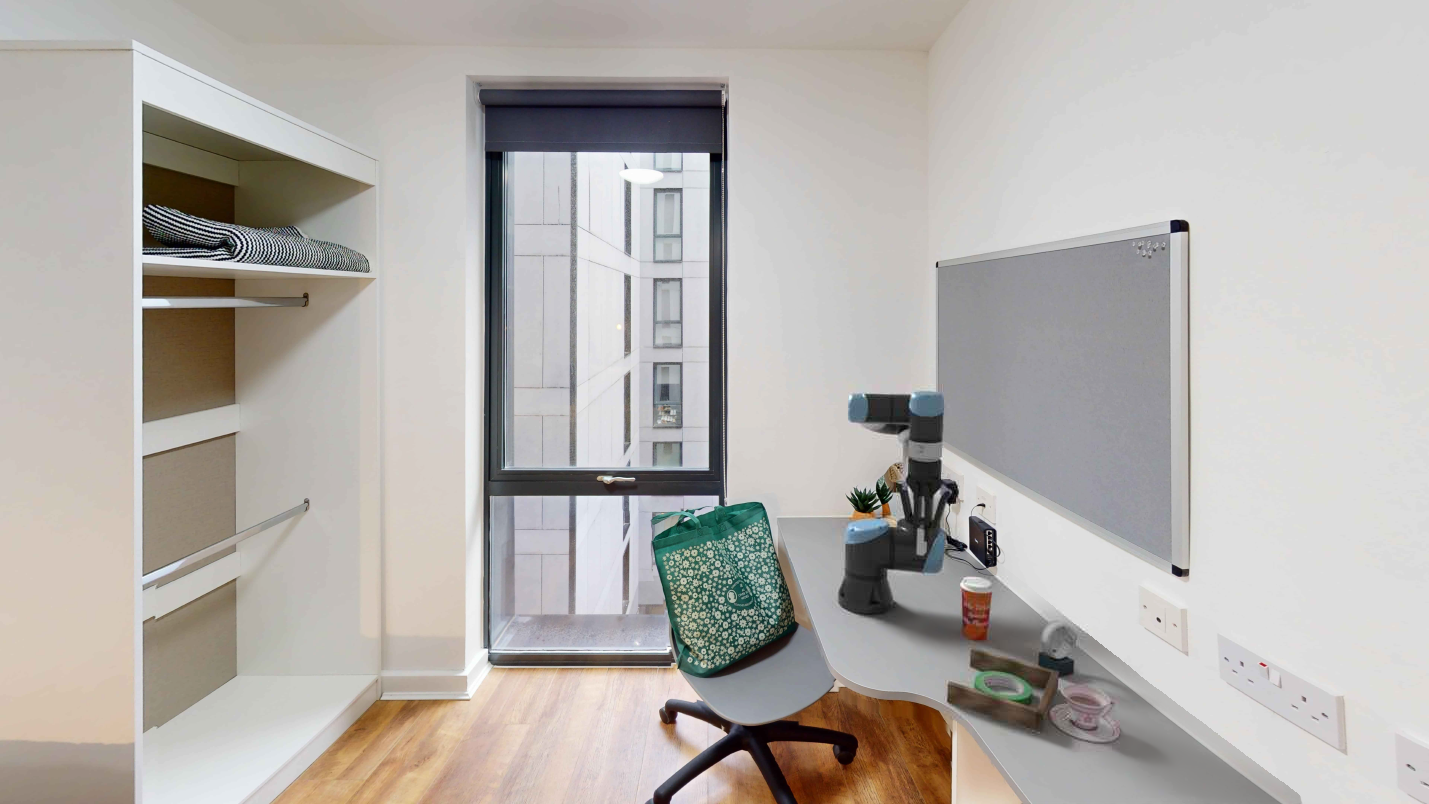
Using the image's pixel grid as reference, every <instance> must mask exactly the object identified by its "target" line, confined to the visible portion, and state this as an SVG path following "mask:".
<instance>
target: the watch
mask: <svg viewBox="0 0 1429 804" xmlns="http://www.w3.org/2000/svg"><path fill="white" fill-rule="evenodd" d="M1054 632H1056V633H1057V635H1059V637H1060V638H1061V641H1063V642H1062V644H1061V647H1060V648H1059V649H1058V650H1056V649H1054V648H1052V644H1051V640H1050V639H1051V637H1052V635H1053V634H1054ZM1078 639H1079V638H1078V635H1077V633H1076V632H1075V630H1074V629H1073V628H1072V626H1070V625H1069V624H1067V623H1066V622H1063V621H1061V620H1060V621H1057V620H1053V621H1050V622H1048V623H1047V624H1046V625H1045V626H1044V628H1043V630H1042V632H1041V636H1040V645H1041V648H1042V650H1043V651H1039V652H1038V665H1037V666H1040V667H1043V668H1047V669H1051V670H1054V671H1058V672H1059V678H1063V677H1066V676H1071V675H1074V670H1075V669H1074V668H1075V660H1074V659H1072V658H1071V657H1069V656H1068V655H1069V654H1070V653H1071V652H1072V650H1073V649H1074V647H1075V646H1076V643H1077V640H1078Z"/></svg>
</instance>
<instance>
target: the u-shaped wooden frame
mask: <svg viewBox="0 0 1429 804" xmlns="http://www.w3.org/2000/svg"><path fill="white" fill-rule="evenodd" d="M969 657H970V658H969V660H970V661H969V667H971V668H975V669H978V670H982V671H983V672H986V671H997V672H1004V673H1008V674H1011V675H1014V676H1016V677H1018V678H1020V679H1022V680H1024V681H1025V682H1026V683H1028V684H1029V685H1032V686H1035V687H1038V688H1041V689H1044V691H1043V693H1042V695H1041V698H1040V701H1039V704H1038V706H1037V708H1035V707H1033V706H1031V705H1030V706H1027V705H1024V704H1020V703H1017V702H1014V701H1011V700H1008V699H1005V698H1001V697H998V696H995V695H992V694H989V693H985V692H982V691H979V690H976V689H974V688H972V687H969V686H966V685H964V684H963V685H962V684H959V683H956V682H954V681H948V683H947V694H946V695H947V697H946V703H948V702H949V704H951V703H952V705H954V704H955V705H956V706H957V705H959V706H958V707H960V706H961V708H964V709H966V708H967V710H970V711H973V712H976V713H978V714H982V715H985V716H987V717H990V718H994V719H998V720H1000V721H1002V720H1003V722H1006V723H1008V722H1009V724H1011V723H1012V724H1011V725H1014V724H1015V725H1014V726H1017V725H1019V726H1018V727H1020V726H1022V727H1021V728H1023V727H1025V728H1024V729H1026V728H1028V729H1027V730H1029V729H1031V730H1030V731H1032V730H1034V731H1033V732H1035V731H1036V733H1038V732H1040V733H1039V734H1041V733H1042V734H1043V731H1044V729H1045V726H1046V724H1047V723H1046V722H1047V720H1048V718H1049V716H1050V715H1049V711H1050V710H1051V708H1052V706H1053V704H1054V701H1055V698H1056V696H1057V692H1058V690H1059V678H1060V677H1059V672H1058V671H1054V670H1051V669H1047V668H1043V667H1040V666H1039V665H1036V664H1032V663H1029V662H1025V661H1021V660H1017V659H1014V658H1010V657H1008V656H1007V657H1006V656H1003V655H1000V654H996V653H992V652H989V651H986V650H982V649H978V648H974V647H971V648H970V655H969ZM955 705H954V706H955Z"/></svg>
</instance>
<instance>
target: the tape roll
mask: <svg viewBox="0 0 1429 804" xmlns="http://www.w3.org/2000/svg"><path fill="white" fill-rule="evenodd" d="M973 681H974V683H973V687H974V688H973V689H976V690H979V691H982V692H985V693H989V694H992V695H995V696H998V697H1001V698H1005V699H1008V700H1011V701H1014V702H1017V703H1020V704H1024V705H1027V706H1030V707H1031V705H1032V704H1033V703H1032V702H1033V689H1032V686H1030V685H1031V684H1028V683H1026V682H1025V681H1024V680H1022V679H1020V678H1018V677H1016V676H1014V675H1011V674H1008V673H1004V672H997V671H982V672H979V673H977V675H975V677H974V680H973ZM989 686H1001V687H1005V688H1009V689H1010V690H1014V691H1016V692H1017V693H1018V694H1017V693H1016V694H1005V693H1004V694H1003V693H999V692H997V691H995V690H992V689H990V688H989Z"/></svg>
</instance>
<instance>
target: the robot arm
mask: <svg viewBox="0 0 1429 804" xmlns="http://www.w3.org/2000/svg"><path fill="white" fill-rule="evenodd" d="M944 411H945V396H944V394H942V393H941V392H938V391H931V390H930V391H929V390H928V391H927V390H926V391H925V390H921V391H920V390H919V391H915V392H912V393H911V394H905V393H904V394H901V393H899V394H898V393H891V394H890V393H889V394H887V393H864V392H860V393H851V394H850V395H849V396H848V401H847V419H848V422H850V423H854V424H855V423H856V424H860V426H862V427H863V428H864V429H866V430H869V431H872V432H875V433H878V434H882V435H892V436H895V435H897V440H898V442H899V443H900V444H902V481H899V482H898V483H897V484H895V487H896V490H897V491H898V493H899V495H900V501H901V504H902V505H901V506H902V516H901V517H900V518H898V520H896V526H890V523H889V521H887V520H886V519H883V518H882V519H880V518H873V517H872V518H871V517H870V518H862V519H857V520H855V521H852V522H850V523H849V524H848V525H847V526H846V527H845V528H846V529H845V538H844V544H845V546H844V547H845V548H844V549H845V552H844V574H843V578H842V579H841V583H840V586H839V589H838V593H837V602H838V604H839V606H841V607H842V608H844V609H846V610H847V611H850V612H853V613H857V614H864V615H878V614H879V615H881V614H883V613H884V614H885V613H887V612H890V611H891V610H892V609H893V608H894V596H893V595H894V594H893V592H892V589H891V586H890V585H891V584H890V581H889V579H888V572H889V570H890V571H896V572H897V571H899V572H909V573H920V574H923V575H924V574H938V573H940V572H941V570H942V569H943V565H944V560H945V552H946V546H947V531H946V530H944V529H941V528H942V527H941V521H942V518H943V514H944V511H945V508H946V506H947V503H948V499H949V498H950V496H951V495H952V494H953V489H951V488H948V487H946V486H945V485H944V482H943V480H942V466H943V465H942V463H943V461H942V459H941V458H942V457H943V434H944V415H945V414H944V413H945V412H944ZM939 491H940V493H939V495H940V497H939V500H938V503H937V506H936V509H935V495H936V494H937V493H938V492H939ZM892 607H893V608H892Z"/></svg>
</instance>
